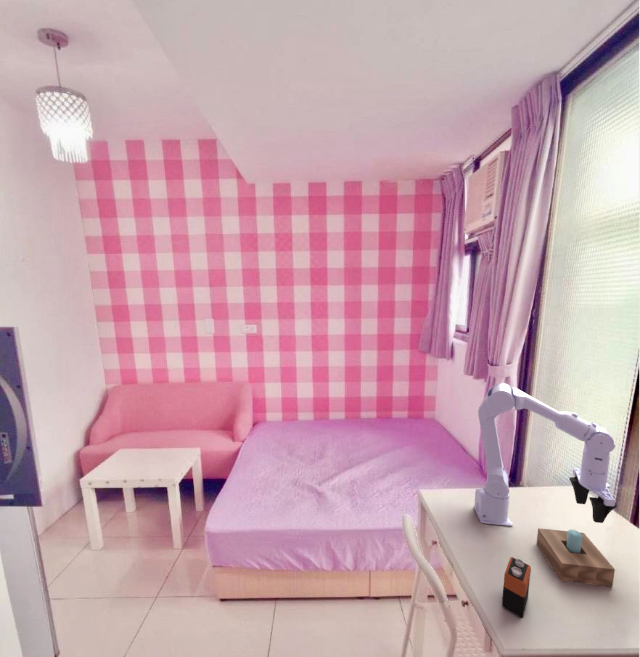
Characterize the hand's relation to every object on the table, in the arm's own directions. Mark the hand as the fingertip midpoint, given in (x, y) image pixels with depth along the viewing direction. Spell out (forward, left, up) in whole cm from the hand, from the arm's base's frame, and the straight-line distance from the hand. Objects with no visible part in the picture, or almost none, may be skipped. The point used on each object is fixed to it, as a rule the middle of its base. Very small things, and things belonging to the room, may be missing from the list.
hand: (589, 512), depth 93 cm
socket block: (-8, -8, -10) cm, 15 cm away
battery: (-28, -22, -10) cm, 37 cm away
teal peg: (-8, -8, -9) cm, 15 cm away
